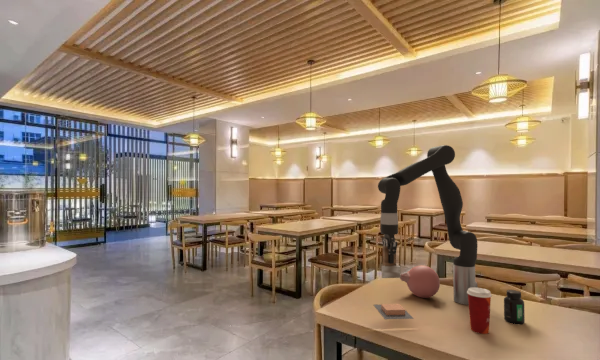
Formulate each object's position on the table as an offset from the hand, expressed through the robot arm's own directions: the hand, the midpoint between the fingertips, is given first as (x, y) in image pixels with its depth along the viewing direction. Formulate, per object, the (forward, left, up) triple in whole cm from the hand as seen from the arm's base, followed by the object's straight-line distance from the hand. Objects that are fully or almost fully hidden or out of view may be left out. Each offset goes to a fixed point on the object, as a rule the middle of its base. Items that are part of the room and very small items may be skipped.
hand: (389, 262), depth 140 cm
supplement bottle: (-46, +15, -21) cm, 53 cm away
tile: (0, +1, -19) cm, 19 cm away
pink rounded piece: (-20, -16, -21) cm, 33 cm away
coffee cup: (-27, +22, -21) cm, 40 cm away
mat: (0, +4, -21) cm, 21 cm away
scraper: (0, 0, -6) cm, 6 cm away
